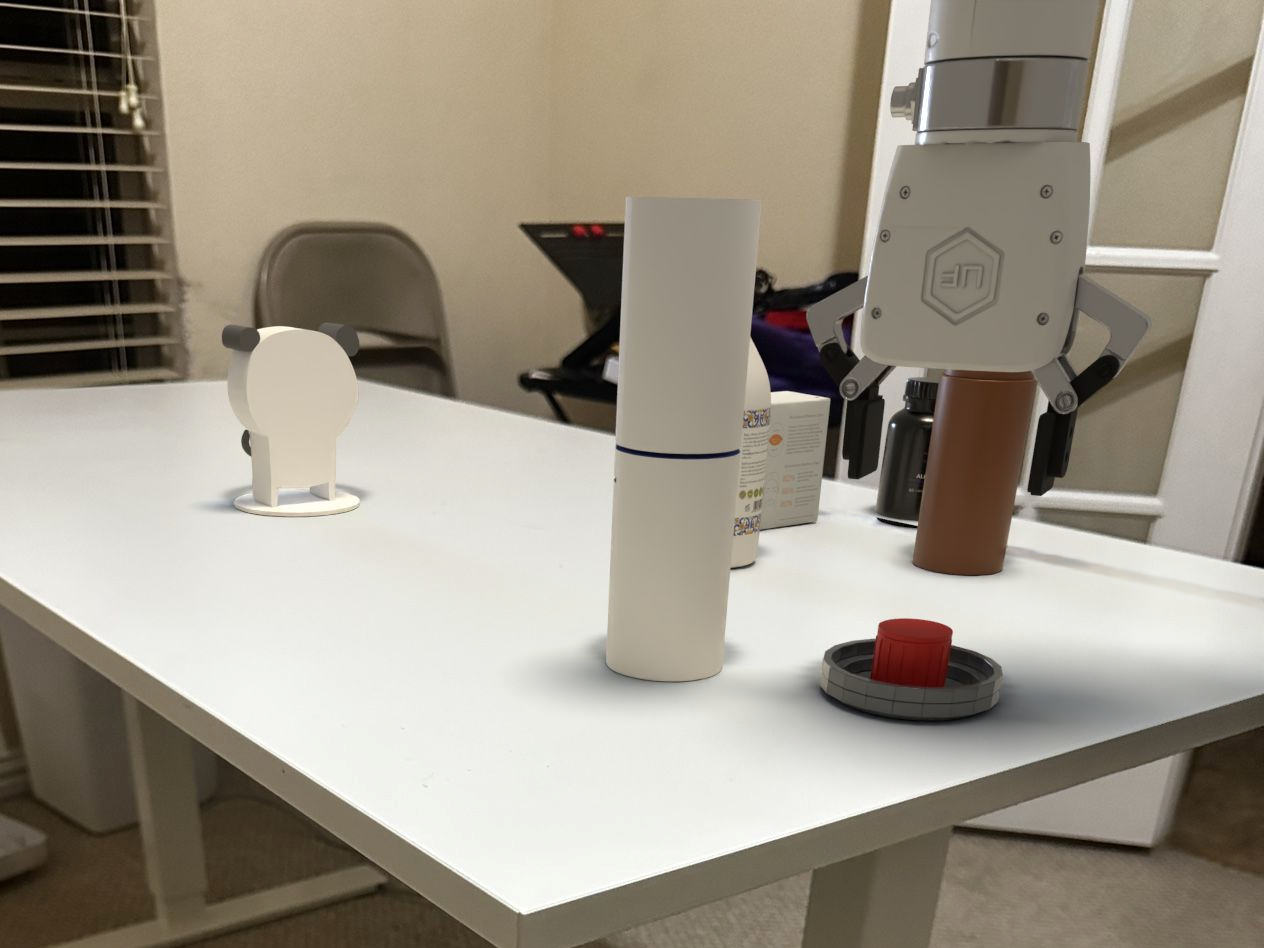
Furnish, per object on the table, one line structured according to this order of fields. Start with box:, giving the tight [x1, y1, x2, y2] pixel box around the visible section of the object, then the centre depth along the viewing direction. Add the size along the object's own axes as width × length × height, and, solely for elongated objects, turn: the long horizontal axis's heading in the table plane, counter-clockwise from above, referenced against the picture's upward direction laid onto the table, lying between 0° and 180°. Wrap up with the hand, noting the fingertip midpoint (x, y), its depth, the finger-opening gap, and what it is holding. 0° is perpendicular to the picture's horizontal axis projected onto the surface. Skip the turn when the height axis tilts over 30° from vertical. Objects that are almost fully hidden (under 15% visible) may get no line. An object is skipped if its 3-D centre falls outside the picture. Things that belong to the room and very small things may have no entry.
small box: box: [759, 390, 831, 531], centre depth 120 cm, size 8×6×10 cm
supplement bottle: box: [874, 376, 940, 530], centre depth 121 cm, size 7×7×12 cm
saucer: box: [819, 637, 1004, 721], centre depth 79 cm, size 10×10×2 cm
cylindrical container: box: [605, 196, 763, 682], centre depth 78 cm, size 7×7×25 cm
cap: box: [870, 617, 954, 687], centre depth 78 cm, size 4×4×4 cm
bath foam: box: [730, 336, 772, 569], centre depth 104 cm, size 7×7×20 cm
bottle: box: [912, 369, 1037, 576], centre depth 105 cm, size 7×7×20 cm
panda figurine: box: [221, 321, 361, 517], centre depth 122 cm, size 12×11×15 cm
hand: (948, 483), depth 74 cm, fingers open, 9 cm apart
